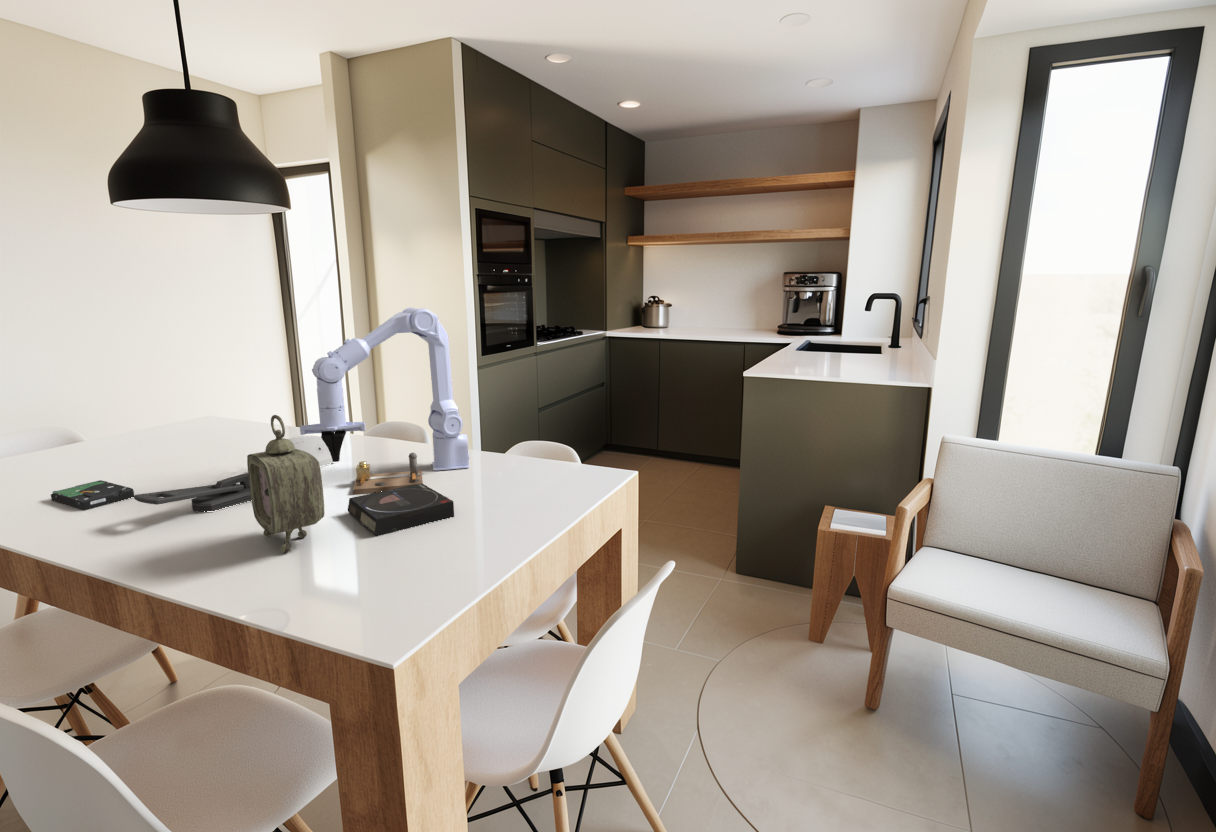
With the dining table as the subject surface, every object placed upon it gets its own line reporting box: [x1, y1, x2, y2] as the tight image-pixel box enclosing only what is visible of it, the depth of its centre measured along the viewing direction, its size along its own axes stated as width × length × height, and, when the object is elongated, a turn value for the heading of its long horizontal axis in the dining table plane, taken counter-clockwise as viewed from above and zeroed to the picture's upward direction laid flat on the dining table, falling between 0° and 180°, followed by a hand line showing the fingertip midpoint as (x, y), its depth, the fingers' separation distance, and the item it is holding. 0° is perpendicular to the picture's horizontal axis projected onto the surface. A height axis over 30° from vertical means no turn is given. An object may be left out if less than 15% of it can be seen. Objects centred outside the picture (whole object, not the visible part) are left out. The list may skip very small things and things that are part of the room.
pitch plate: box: [352, 452, 424, 495], centre depth 154 cm, size 16×12×7 cm
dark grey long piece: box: [133, 472, 252, 513], centre depth 136 cm, size 9×7×25 cm
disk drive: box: [50, 479, 135, 511], centre depth 143 cm, size 10×3×15 cm
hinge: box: [288, 434, 333, 466], centre depth 167 cm, size 17×5×10 cm, turn 156°
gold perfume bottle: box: [355, 460, 372, 483], centre depth 152 cm, size 3×7×4 cm, turn 18°
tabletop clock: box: [246, 414, 325, 554], centre depth 117 cm, size 14×9×25 cm, turn 45°
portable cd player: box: [347, 483, 455, 537], centre depth 132 cm, size 16×17×4 cm
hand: (336, 460), depth 151 cm, fingers closed
